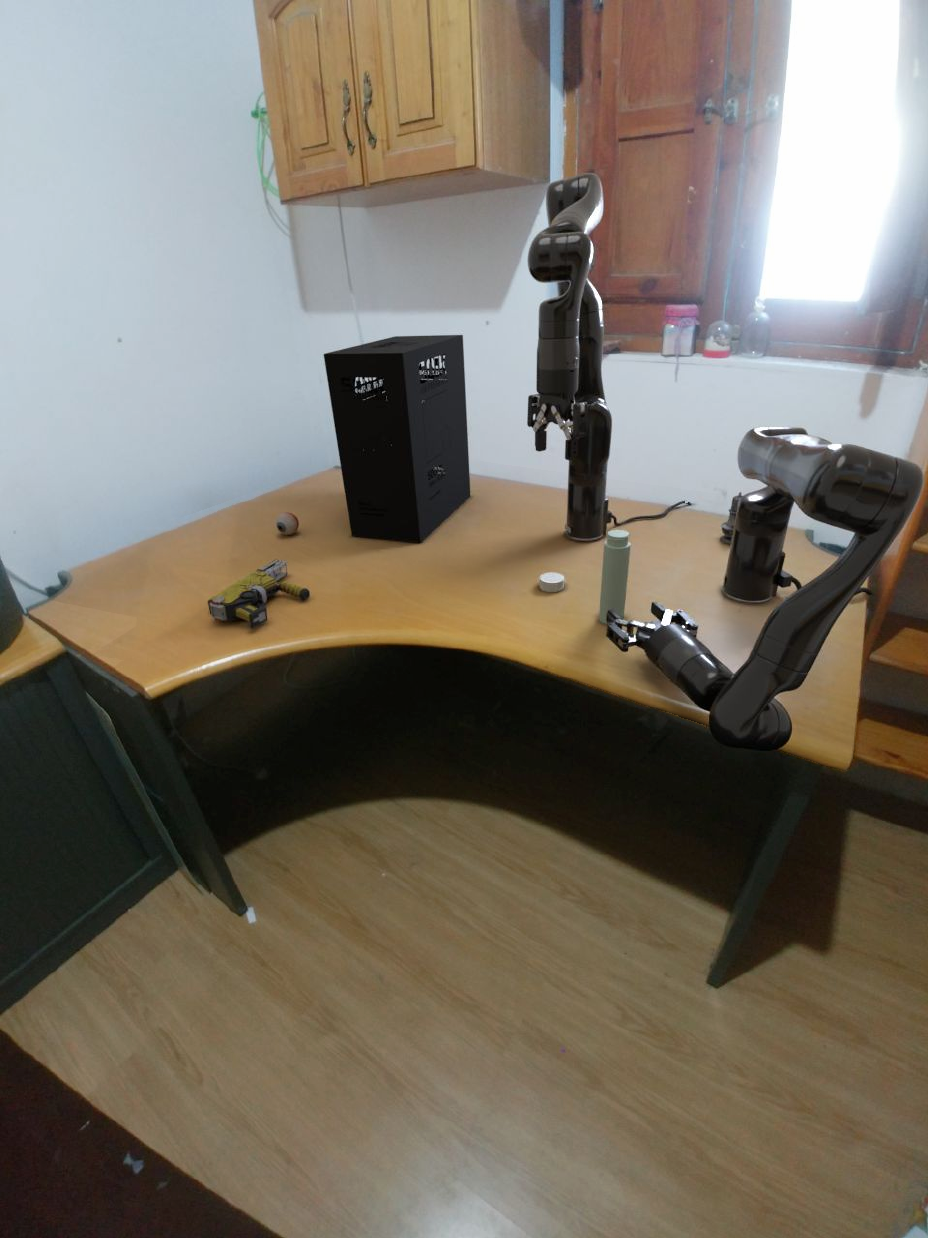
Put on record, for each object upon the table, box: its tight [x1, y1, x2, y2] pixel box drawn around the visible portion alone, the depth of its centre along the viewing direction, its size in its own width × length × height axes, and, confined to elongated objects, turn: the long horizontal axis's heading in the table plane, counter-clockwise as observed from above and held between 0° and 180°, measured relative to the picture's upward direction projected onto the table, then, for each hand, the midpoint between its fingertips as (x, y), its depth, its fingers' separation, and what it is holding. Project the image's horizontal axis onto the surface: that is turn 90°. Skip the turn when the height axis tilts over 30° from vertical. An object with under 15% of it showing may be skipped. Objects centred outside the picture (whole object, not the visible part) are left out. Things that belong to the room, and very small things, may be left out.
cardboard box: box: [323, 334, 471, 544], centre depth 162 cm, size 38×20×45 cm, turn 159°
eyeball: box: [275, 511, 300, 536], centre depth 163 cm, size 6×6×6 cm
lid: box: [539, 571, 565, 593], centre depth 130 cm, size 5×5×2 cm
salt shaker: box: [719, 491, 743, 545], centre depth 143 cm, size 6×6×12 cm
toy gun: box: [207, 558, 311, 629], centre depth 130 cm, size 5×24×15 cm
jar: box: [598, 529, 632, 625], centre depth 113 cm, size 5×5×18 cm
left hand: (555, 454), depth 116 cm, fingers open, 8 cm apart
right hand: (631, 610), depth 108 cm, fingers open, 8 cm apart
